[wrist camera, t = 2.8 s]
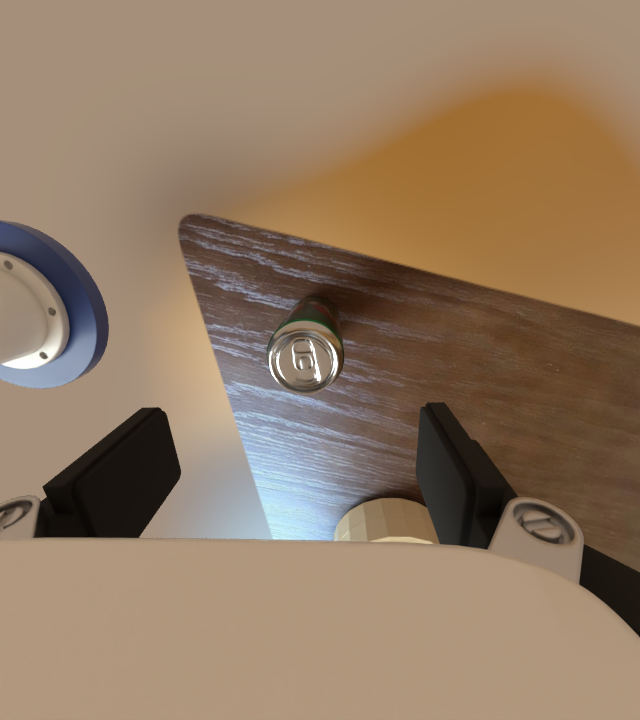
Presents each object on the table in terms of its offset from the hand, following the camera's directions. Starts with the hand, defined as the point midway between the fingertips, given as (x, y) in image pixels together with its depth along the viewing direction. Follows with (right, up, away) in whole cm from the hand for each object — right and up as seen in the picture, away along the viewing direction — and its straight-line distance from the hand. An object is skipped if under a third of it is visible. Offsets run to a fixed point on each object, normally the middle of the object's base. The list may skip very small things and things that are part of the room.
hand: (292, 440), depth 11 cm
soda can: (+1, +7, +19) cm, 20 cm away
